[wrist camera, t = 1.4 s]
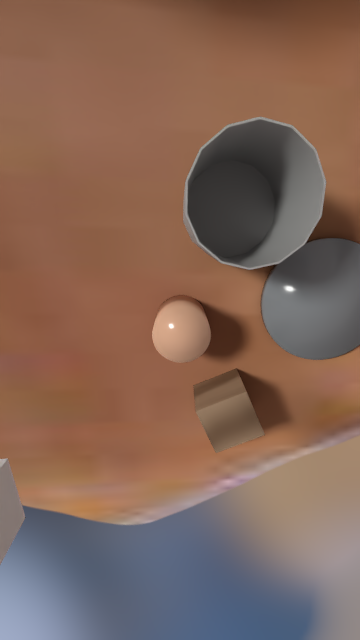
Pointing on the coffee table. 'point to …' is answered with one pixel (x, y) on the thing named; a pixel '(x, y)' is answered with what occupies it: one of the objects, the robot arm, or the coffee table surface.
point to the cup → (254, 193)
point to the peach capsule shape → (181, 329)
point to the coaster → (315, 299)
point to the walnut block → (226, 411)
